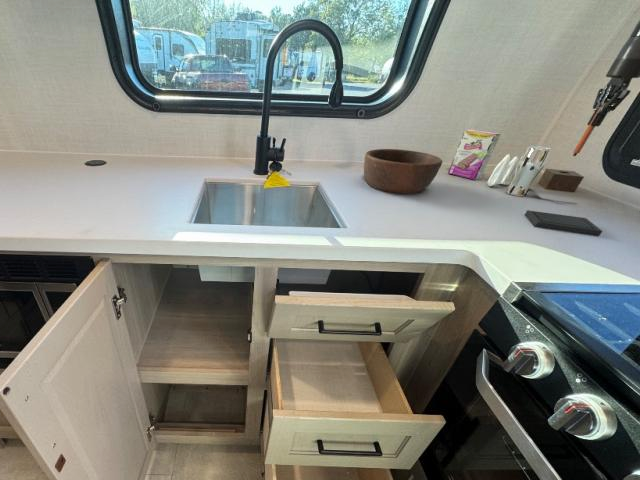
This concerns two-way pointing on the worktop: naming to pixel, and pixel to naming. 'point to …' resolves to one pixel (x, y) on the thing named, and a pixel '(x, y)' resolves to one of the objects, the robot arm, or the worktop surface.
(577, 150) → the stylus
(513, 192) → the beer glass
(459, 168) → the candy bar box
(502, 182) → the shaker set
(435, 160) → the wooden bowl
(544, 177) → the stand
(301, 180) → the worktop surface
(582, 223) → the screen
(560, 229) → the tablet
